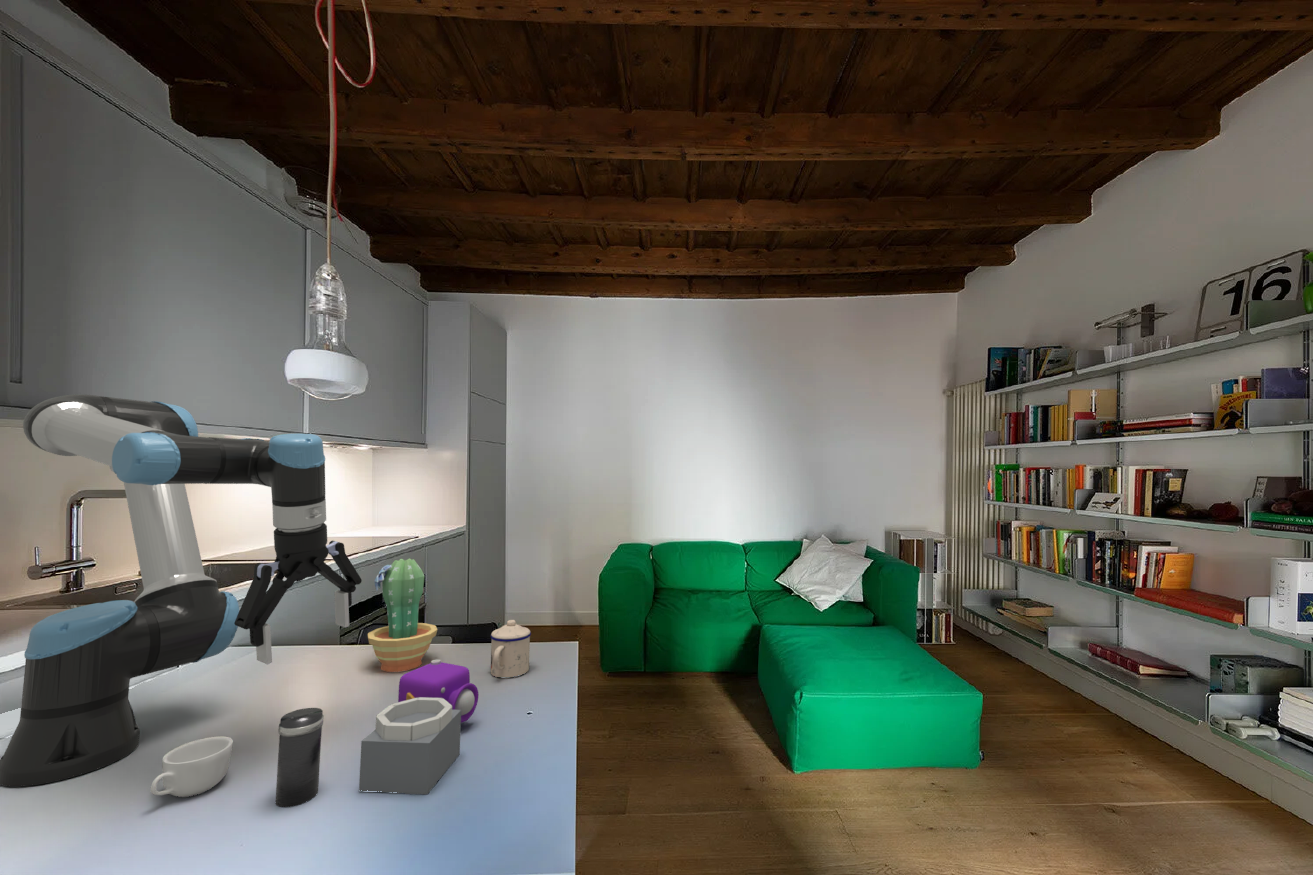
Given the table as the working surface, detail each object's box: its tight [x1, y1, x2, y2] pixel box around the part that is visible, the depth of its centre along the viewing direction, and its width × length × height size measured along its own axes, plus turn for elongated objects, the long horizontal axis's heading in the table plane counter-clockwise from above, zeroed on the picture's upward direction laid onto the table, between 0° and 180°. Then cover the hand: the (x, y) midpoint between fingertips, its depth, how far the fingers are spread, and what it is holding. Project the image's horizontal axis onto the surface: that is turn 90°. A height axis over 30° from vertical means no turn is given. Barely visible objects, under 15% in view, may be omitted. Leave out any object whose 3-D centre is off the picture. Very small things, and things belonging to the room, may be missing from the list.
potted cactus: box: [367, 558, 438, 673], centre depth 128 cm, size 15×15×25 cm
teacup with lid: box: [490, 619, 532, 678], centre depth 122 cm, size 12×9×12 cm
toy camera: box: [397, 659, 479, 724], centre depth 97 cm, size 11×14×10 cm
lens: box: [274, 707, 325, 808], centre depth 75 cm, size 5×5×11 cm
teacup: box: [150, 735, 234, 798], centre depth 75 cm, size 10×8×5 cm
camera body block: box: [358, 697, 462, 795], centre depth 81 cm, size 10×11×9 cm
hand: (306, 642), depth 93 cm, fingers open, 13 cm apart
